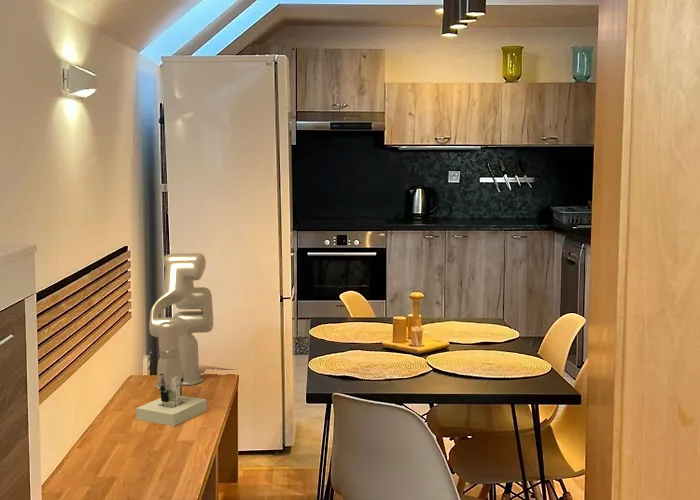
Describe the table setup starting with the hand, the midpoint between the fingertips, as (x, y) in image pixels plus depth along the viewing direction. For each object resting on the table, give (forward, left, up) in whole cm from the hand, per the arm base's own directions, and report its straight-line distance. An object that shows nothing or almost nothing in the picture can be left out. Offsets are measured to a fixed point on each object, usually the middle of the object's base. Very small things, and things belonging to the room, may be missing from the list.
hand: (171, 398), depth 315 cm
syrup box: (0, 0, -6) cm, 6 cm away
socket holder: (0, 0, -7) cm, 7 cm away
